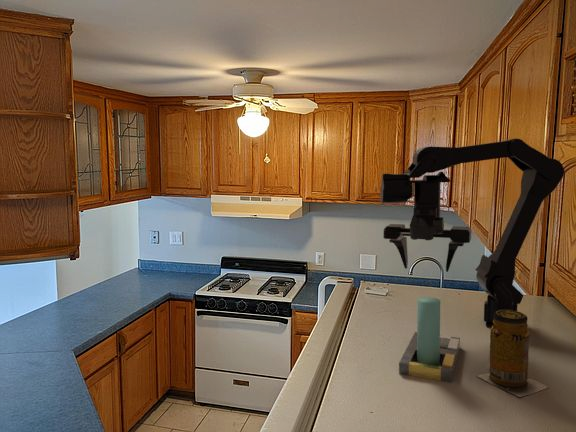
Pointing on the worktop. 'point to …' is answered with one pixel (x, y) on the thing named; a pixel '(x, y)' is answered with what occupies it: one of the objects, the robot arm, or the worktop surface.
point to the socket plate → (431, 371)
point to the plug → (428, 331)
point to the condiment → (510, 354)
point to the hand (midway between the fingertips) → (426, 269)
